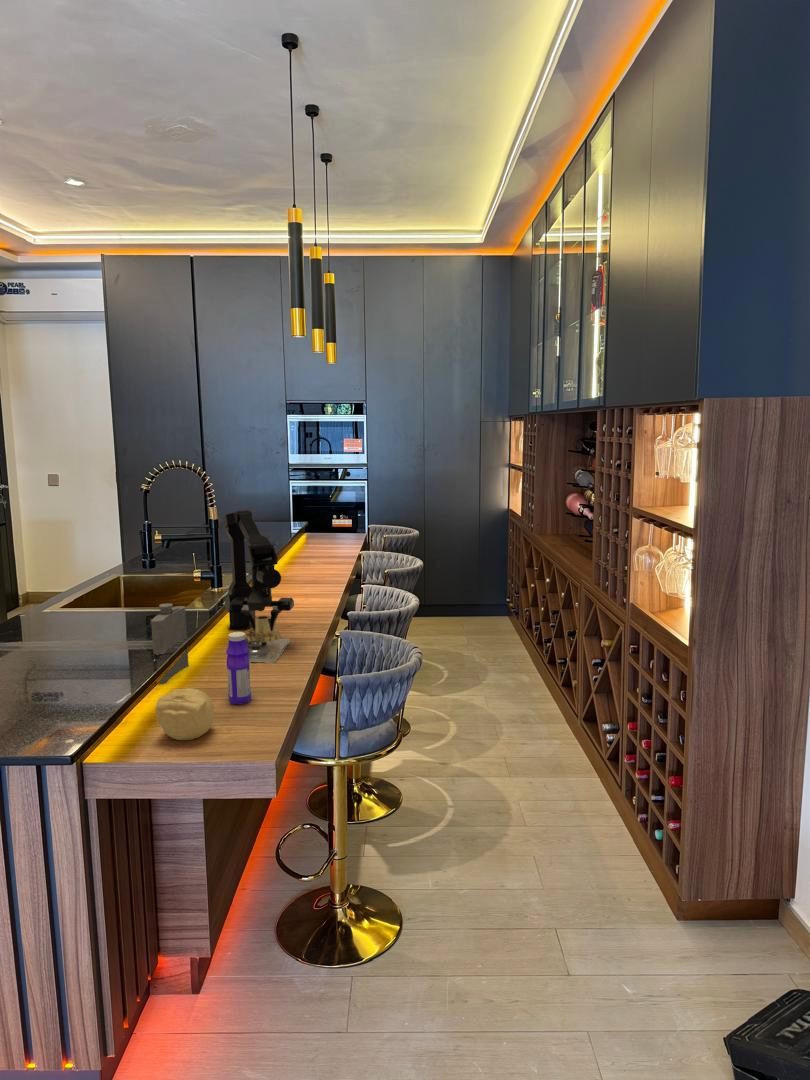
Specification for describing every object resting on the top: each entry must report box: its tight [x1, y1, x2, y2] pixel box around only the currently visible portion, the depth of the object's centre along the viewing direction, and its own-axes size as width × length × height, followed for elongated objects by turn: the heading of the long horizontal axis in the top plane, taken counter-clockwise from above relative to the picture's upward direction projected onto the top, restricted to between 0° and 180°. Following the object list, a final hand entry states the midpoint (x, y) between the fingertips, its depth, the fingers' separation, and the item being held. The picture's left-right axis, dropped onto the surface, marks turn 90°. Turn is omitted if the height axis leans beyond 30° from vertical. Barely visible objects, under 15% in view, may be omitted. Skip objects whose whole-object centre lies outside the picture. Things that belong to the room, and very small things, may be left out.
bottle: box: [225, 631, 252, 705], centre depth 176 cm, size 7×6×17 cm
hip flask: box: [150, 603, 190, 685], centre depth 195 cm, size 16×4×20 cm, turn 172°
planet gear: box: [246, 615, 281, 643], centre depth 219 cm, size 10×10×6 cm
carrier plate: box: [245, 637, 291, 664], centre depth 215 cm, size 14×20×5 cm
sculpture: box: [154, 687, 215, 741], centre depth 158 cm, size 12×12×11 cm
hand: (263, 630), depth 219 cm, fingers closed on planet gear, 5 cm apart
